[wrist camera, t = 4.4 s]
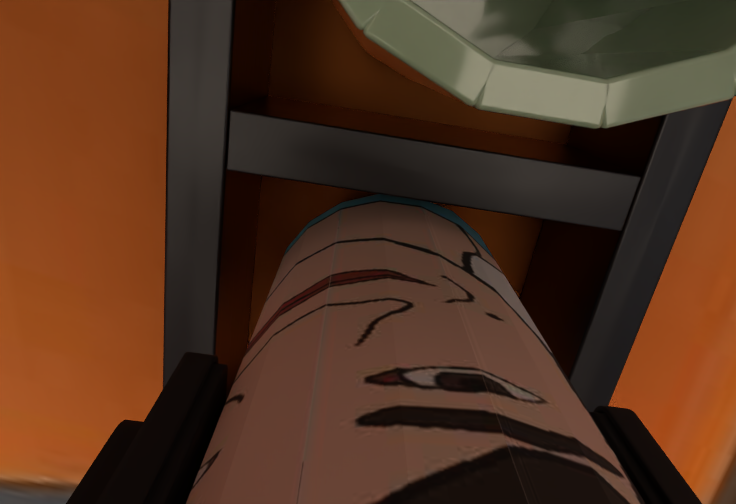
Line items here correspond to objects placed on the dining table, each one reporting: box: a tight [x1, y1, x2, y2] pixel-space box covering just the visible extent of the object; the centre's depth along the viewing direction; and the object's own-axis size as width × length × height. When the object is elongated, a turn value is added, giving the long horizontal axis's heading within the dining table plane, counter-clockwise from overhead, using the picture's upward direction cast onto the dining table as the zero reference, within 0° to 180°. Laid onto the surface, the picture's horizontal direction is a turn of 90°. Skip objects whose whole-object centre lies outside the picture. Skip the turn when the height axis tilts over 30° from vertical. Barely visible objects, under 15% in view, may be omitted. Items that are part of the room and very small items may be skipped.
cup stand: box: [163, 0, 733, 412], centre depth 13 cm, size 12×22×4 cm, turn 171°
